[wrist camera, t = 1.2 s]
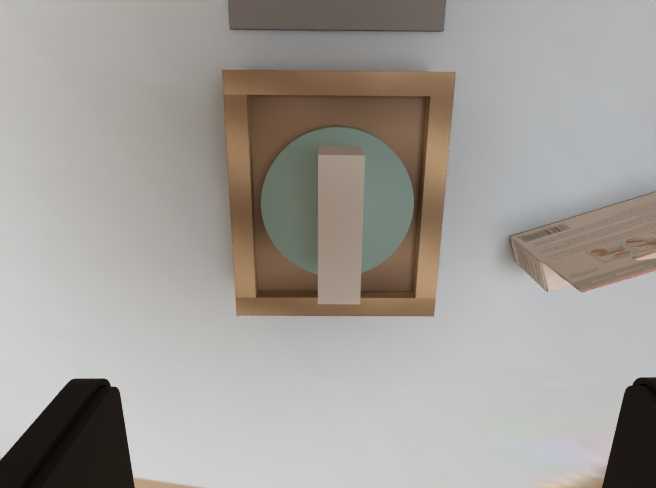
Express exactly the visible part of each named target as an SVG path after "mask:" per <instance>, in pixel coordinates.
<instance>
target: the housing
mask: <svg viewBox="0 0 656 488" xmlns="http://www.w3.org/2000/svg"><path fill="white" fill-rule="evenodd" d="M455 73H456V72H392V71H279V70H222V77H223V94H224V110H225V127H226V144H227V160H228V177H229V194H230V210H231V227H232V244H233V260H234V277H235V294H236V310H237V315H258V316H434V309H435V297H436V286H437V275H438V264H439V253H440V241H441V230H442V219H443V208H444V197H445V185H446V174H447V163H448V152H449V141H450V129H451V118H452V107H453V96H454V85H455ZM336 125H339V126H349V127H354V128H358V129H361V130H364V131H366V132H368V133H370V134H372V135H374V136H376V137H377V138H379V139H380V140H382V141H383V142H384V143H385V144H386V145H387V146H388V147H389V148H390V149H392V150H393V151H394V152H395V154H396V155H397V156H398V157H399V159H400V160H401V161H402V163H403V165H404V166H405V168H406V170H407V173H408V175H409V177H410V180H411V184H412V188H413V195H414V208H413V216H412V220H411V223H410V227H409V229H408V231H407V234H406V236H405V237H404V239H403V241H402V243H401V244H400V245H399V247H398V248H397V249H396V251H395V252H394V253H393V254H392V255H391V256H390V257H389V258H387V259H386V260H385V261H383V262H382V263H381V264H379V265H377V266H376V267H374V268H372V269H370V270H368V271H366V272H363V273H361V293H360V304H318V275H317V274H314V273H311V272H308V271H306V270H304V269H301V268H299V267H298V266H296V265H295V264H293V263H292V262H290V261H289V260H288V259H287V258H285V257H284V256H283V255H282V254H281V253H280V252H279V250H278V249H277V248H276V247H275V245H274V244H273V242H272V241H271V239H270V237H269V235H268V233H267V231H266V228H265V226H264V222H263V218H262V212H261V194H262V188H263V184H264V181H265V178H266V175H267V173H268V171H269V169H270V167H271V165H272V164H273V162H274V161H275V159H276V158H277V156H278V155H279V153H280V152H281V151H282V150H283V149H284V148H285V147H286V146H287V145H288V144H289V143H290V142H291V141H293V140H294V139H296V138H297V137H298V136H300V135H302V134H304V133H306V132H308V131H311V130H313V129H316V128H320V127H325V126H336Z"/></svg>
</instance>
